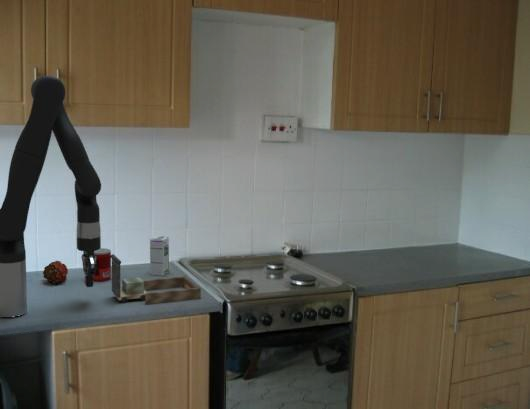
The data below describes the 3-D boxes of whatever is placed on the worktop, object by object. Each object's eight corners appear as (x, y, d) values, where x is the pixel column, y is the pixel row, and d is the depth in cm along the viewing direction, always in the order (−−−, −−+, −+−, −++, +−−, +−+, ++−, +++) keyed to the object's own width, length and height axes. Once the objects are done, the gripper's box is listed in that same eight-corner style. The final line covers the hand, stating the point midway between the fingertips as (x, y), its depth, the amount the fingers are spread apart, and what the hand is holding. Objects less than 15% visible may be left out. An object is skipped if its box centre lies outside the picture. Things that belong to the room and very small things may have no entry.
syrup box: (164, 276, 249) (164, 239, 246) (149, 274, 250) (149, 238, 248) (169, 272, 254) (169, 236, 252) (155, 271, 255) (155, 235, 253)
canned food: (112, 276, 246) (112, 248, 244) (108, 282, 238) (108, 253, 236) (92, 275, 246) (92, 247, 244) (87, 281, 238) (87, 252, 236)
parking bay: (146, 305, 212) (146, 294, 211) (133, 292, 227) (133, 281, 226) (200, 299, 221) (200, 288, 220) (184, 286, 235) (184, 276, 234)
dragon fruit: (54, 291, 230) (53, 286, 241) (73, 276, 232) (72, 272, 244) (38, 272, 228) (39, 269, 240) (58, 257, 231) (58, 254, 242)
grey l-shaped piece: (117, 303, 211) (117, 260, 209) (110, 296, 219) (110, 254, 217) (148, 300, 216) (148, 258, 214) (141, 293, 224) (141, 252, 222)
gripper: (73, 231, 212) (74, 282, 215) (80, 239, 201) (81, 293, 203) (96, 230, 216) (96, 280, 218) (104, 238, 204) (105, 290, 207)
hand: (89, 286), depth 211 cm, fingers closed
